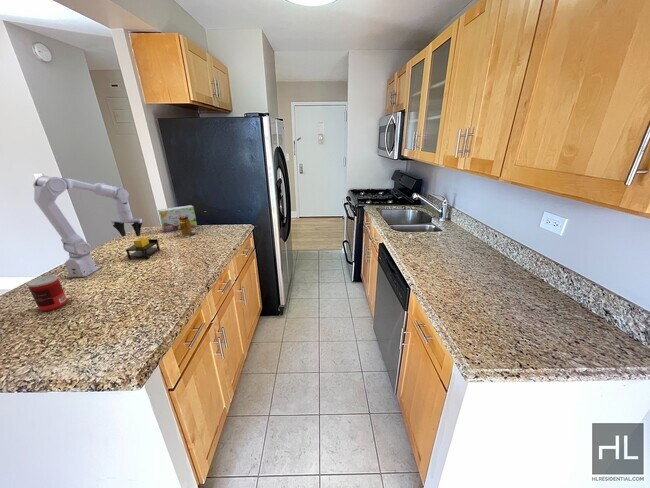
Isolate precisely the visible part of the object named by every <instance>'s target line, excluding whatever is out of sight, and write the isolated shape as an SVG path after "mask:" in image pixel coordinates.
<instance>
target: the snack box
mask: <svg viewBox="0 0 650 488" xmlns="http://www.w3.org/2000/svg"><path fill="white" fill-rule="evenodd" d="M157 212H158V216H159V221H160V225H161V230H162V231H163V232H164V233H168V232H173V231H178V230H179V231H180V230H181V228H180V223H179V222H180V221H179V218H180V217H184V216H187V217H188V219H189V221H190V225H191V228H194V227H198V224H197V218H196V212H195V207H194V205H192V204H191V205H184V206H176V207H169V208H161V209H160V208H159V209H157Z"/></svg>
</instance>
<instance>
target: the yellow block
mask: <svg viewBox="0 0 650 488" xmlns="http://www.w3.org/2000/svg"><path fill="white" fill-rule="evenodd" d="M148 239H149V237H148V236H139V237H138V238H137V239H134V240H133V241H132V242H133V245H135V247H144V246H145V245H147V244H149V240H148Z"/></svg>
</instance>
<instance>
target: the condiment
mask: <svg viewBox="0 0 650 488" xmlns="http://www.w3.org/2000/svg"><path fill="white" fill-rule="evenodd" d="M179 221H180V222H179V223H180V228H181V229H180V232H181V234H179V236H180V237H186V238H188V237H190V236H193V235H196V234H197V232H194V231H193V230H192V227H191V225H190V221H189V219H188V217H187V216H184V217H180V218H179Z"/></svg>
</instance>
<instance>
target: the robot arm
mask: <svg viewBox="0 0 650 488" xmlns="http://www.w3.org/2000/svg"><path fill="white" fill-rule="evenodd" d="M32 186H33V188H34V191H33V192H34V193H33V198H34V199H33V200H34V202H35V204H36V205H37V207H38V208H39V209H40V211H41V212H42V213H43V215H44V217H46V219H47V220H48V222H49V223H50V224H51V226H52V227H53V228H54V229H55V231H56V232H57V234H58V235H59V236H60V238H61V239H60V242H61V243H62V248H63V250H64V251H65V252H67V253H68V256H69V258H68V259H67V260H65V263H64V266H65V268H66V271H67V273H68V275H67V278H85V277H88V276H90V275H91V274H94V272H96V271H97V270H100V269H101V268H102V266H96V264H95V262H94V259H93V257H92V254H91V251H92V245H91V244H90V243H89V242H86V241H85V240H84V238H83V237H82V236H80V235H79V234H78V233H77V232H76V231H75V229H74V227H73V226H72V225H71V223H70V222H69V220H68V219H67V218H66V216H65V214H64V212H62V210H61V209H60V207H59V205H57V204H56V200H57V199H58V197H59V196H60V195H62V194H63V193H64V192H65V191H67V190H70V189H79V190H84V191H89V192H92V193H93V194H94V195H95V196H100V197H106V198H111V199H113V203H114V207H115V209H116V213H117V216H118V218H112V219H110V222H111V224H112V227H114V228H115V229H116V230H117V231H118V233H119V234H120V236H121V237H126V235H127V234H126V233H127V232H126V230H125V224H131V227H132V229H133V230H134V233H135V236H136V237H141V229H142V226H143V219H142V218H137V217H134V215H133V214H132V209H131V206H130V203H129V197H130V193H129V192H128V191H127V190H126V188H123V187H117V186H116V185H109V184H106V183H105V182H101V181H100V182H95V183H94V184H93V183H88V182H85V181H81V180H77V179H73V178H68V177H67V178H66V177H58V176H48V175H40V176H38V177H37V178H36V179H35V181H34V182H33V184H32Z"/></svg>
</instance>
